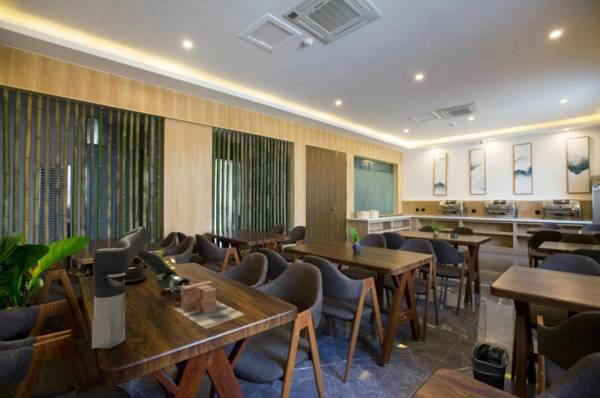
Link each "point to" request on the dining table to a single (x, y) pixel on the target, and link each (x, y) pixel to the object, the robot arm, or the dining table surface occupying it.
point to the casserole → (134, 273)
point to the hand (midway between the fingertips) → (194, 291)
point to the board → (211, 315)
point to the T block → (199, 297)
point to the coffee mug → (118, 277)
